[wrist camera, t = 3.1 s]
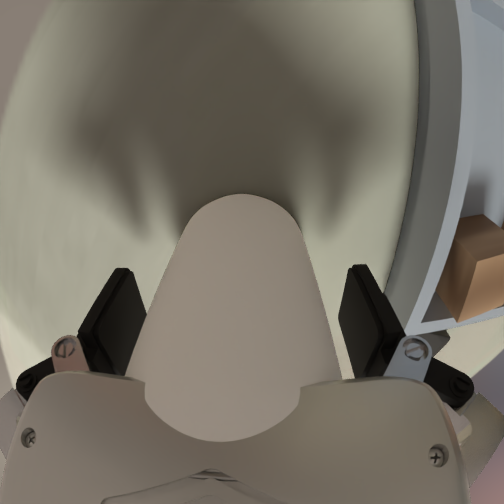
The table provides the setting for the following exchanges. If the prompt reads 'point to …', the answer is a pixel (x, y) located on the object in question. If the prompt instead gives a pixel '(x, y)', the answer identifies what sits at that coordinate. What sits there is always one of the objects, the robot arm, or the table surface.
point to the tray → (450, 152)
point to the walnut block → (473, 269)
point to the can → (234, 325)
